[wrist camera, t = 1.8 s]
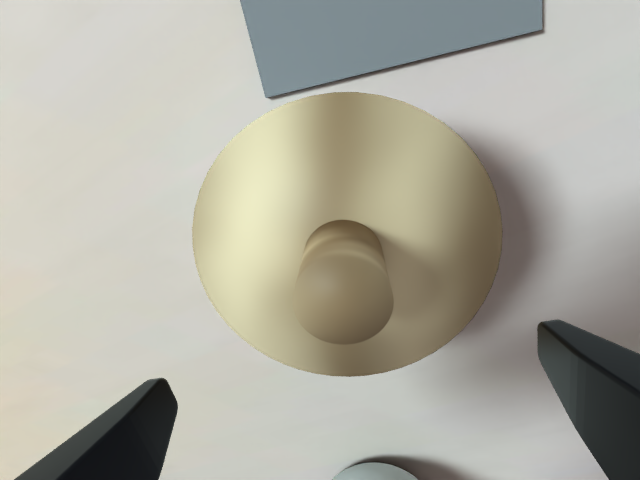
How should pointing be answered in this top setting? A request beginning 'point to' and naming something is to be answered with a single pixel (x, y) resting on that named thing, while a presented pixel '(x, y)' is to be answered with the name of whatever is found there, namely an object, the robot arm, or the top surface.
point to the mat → (371, 34)
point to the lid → (347, 234)
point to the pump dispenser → (374, 472)
